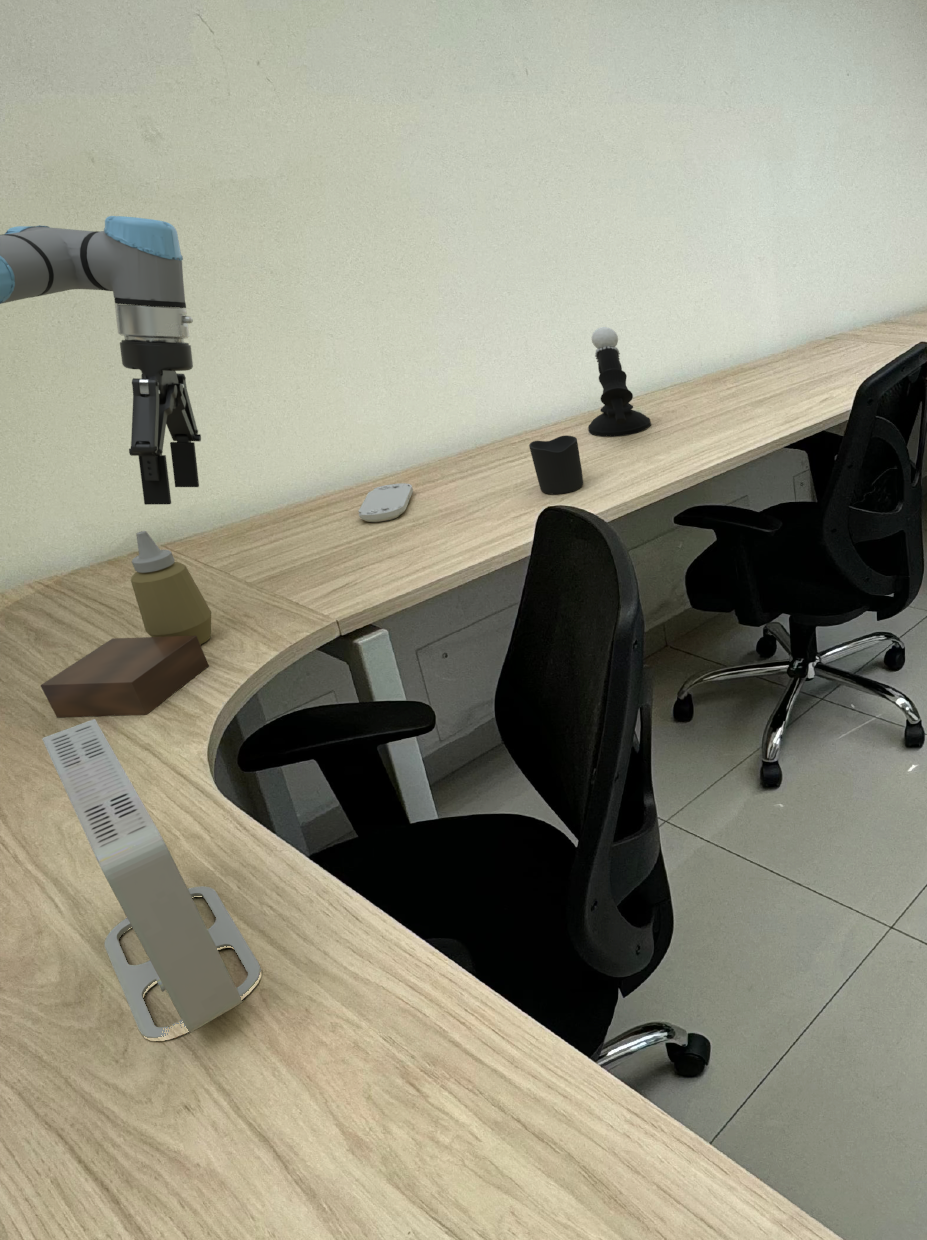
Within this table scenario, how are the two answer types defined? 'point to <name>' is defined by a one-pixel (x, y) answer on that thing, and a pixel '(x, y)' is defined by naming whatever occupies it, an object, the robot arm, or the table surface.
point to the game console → (385, 502)
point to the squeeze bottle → (168, 594)
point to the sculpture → (614, 391)
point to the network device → (148, 890)
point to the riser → (125, 676)
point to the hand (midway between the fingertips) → (173, 495)
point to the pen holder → (557, 464)
